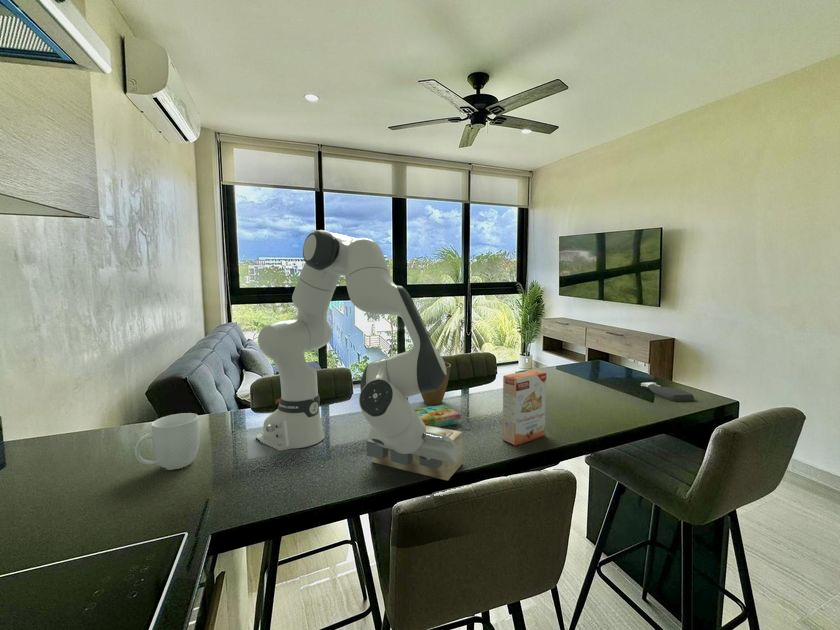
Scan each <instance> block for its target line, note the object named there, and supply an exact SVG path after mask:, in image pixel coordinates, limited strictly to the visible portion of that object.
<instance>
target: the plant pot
mask: <svg viewBox="0 0 840 630" xmlns="http://www.w3.org/2000/svg"><path fill="white" fill-rule="evenodd" d="M444 363H445V366H446V374H447V377H446V379H445V381H444V382H443V384H442V385H441V387H440V388H439V389H438V390H437V391H432V392H427V393H420V395H421V398H422V399H423V402H424V404H426V405H429V406H438V405H441V403H443V400H444V396H445V394H446V391H447V388H448V383H449V378H450V372H451V367H452V366H451V363H449V362H446V361H444Z"/></svg>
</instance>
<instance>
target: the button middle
mask: <svg viewBox="0 0 840 630" xmlns="http://www.w3.org/2000/svg"><path fill="white" fill-rule="evenodd" d="M391 461H392V462H396V463H400V464H404V465H409V464H410V463H411V462H412V461H413V458H412V454H410V453H409V454H400V453H398V452H396V451H395V450H392V449H391Z"/></svg>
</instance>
